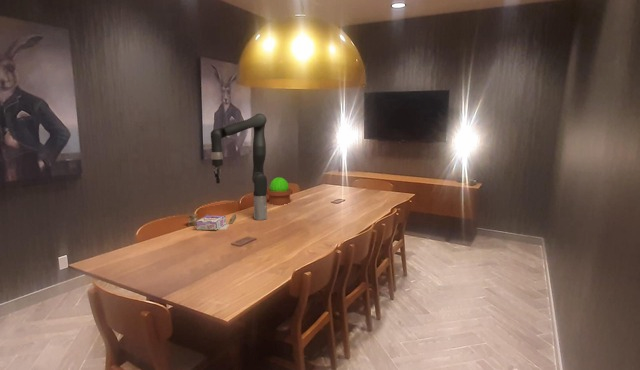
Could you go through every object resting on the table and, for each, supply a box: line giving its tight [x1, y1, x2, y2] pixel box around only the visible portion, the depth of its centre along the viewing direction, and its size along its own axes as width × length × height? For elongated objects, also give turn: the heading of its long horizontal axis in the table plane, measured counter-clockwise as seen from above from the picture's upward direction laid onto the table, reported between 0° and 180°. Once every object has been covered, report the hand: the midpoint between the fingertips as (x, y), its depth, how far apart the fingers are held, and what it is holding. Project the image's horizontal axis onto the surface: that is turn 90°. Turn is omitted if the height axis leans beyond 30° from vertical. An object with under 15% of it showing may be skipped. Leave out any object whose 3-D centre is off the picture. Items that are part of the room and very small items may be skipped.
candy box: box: [196, 214, 227, 231], centre depth 236 cm, size 14×6×16 cm
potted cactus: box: [266, 176, 293, 206], centre depth 311 cm, size 22×22×25 cm
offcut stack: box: [187, 213, 199, 227], centre depth 244 cm, size 5×8×7 cm, turn 4°
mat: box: [197, 224, 230, 231], centre depth 236 cm, size 18×12×1 cm, turn 94°
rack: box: [203, 213, 237, 225], centre depth 254 cm, size 21×17×4 cm
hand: (218, 183), depth 251 cm, fingers closed
